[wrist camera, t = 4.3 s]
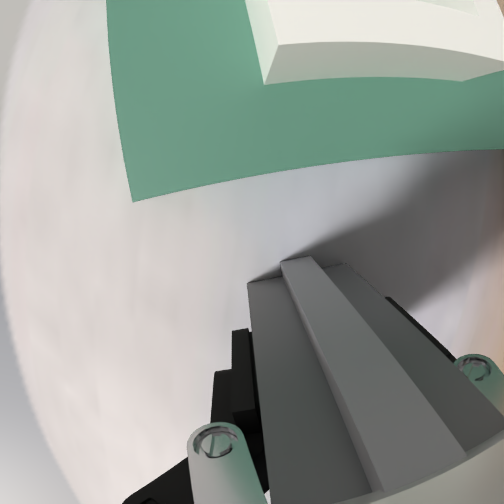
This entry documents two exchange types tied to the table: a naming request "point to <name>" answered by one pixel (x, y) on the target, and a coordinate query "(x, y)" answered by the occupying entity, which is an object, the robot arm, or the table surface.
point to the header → (377, 38)
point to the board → (266, 103)
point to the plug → (353, 389)
